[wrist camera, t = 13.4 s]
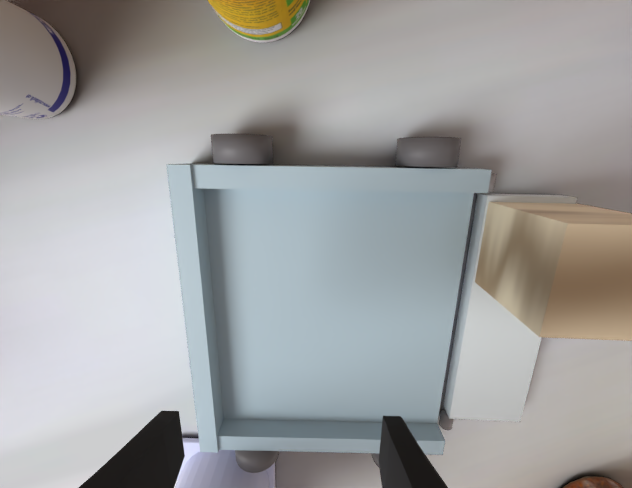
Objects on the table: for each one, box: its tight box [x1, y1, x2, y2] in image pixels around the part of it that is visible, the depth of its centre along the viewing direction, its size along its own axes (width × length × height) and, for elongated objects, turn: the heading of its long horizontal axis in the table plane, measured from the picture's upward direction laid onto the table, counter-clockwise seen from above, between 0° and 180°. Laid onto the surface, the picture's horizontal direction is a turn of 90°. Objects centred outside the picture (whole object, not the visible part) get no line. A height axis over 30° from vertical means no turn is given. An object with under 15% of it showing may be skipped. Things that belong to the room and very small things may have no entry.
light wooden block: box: [475, 202, 632, 341], centre depth 15 cm, size 5×5×6 cm
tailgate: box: [443, 193, 577, 422], centre depth 20 cm, size 16×2×5 cm
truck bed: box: [166, 134, 497, 473], centre depth 19 cm, size 22×18×3 cm
